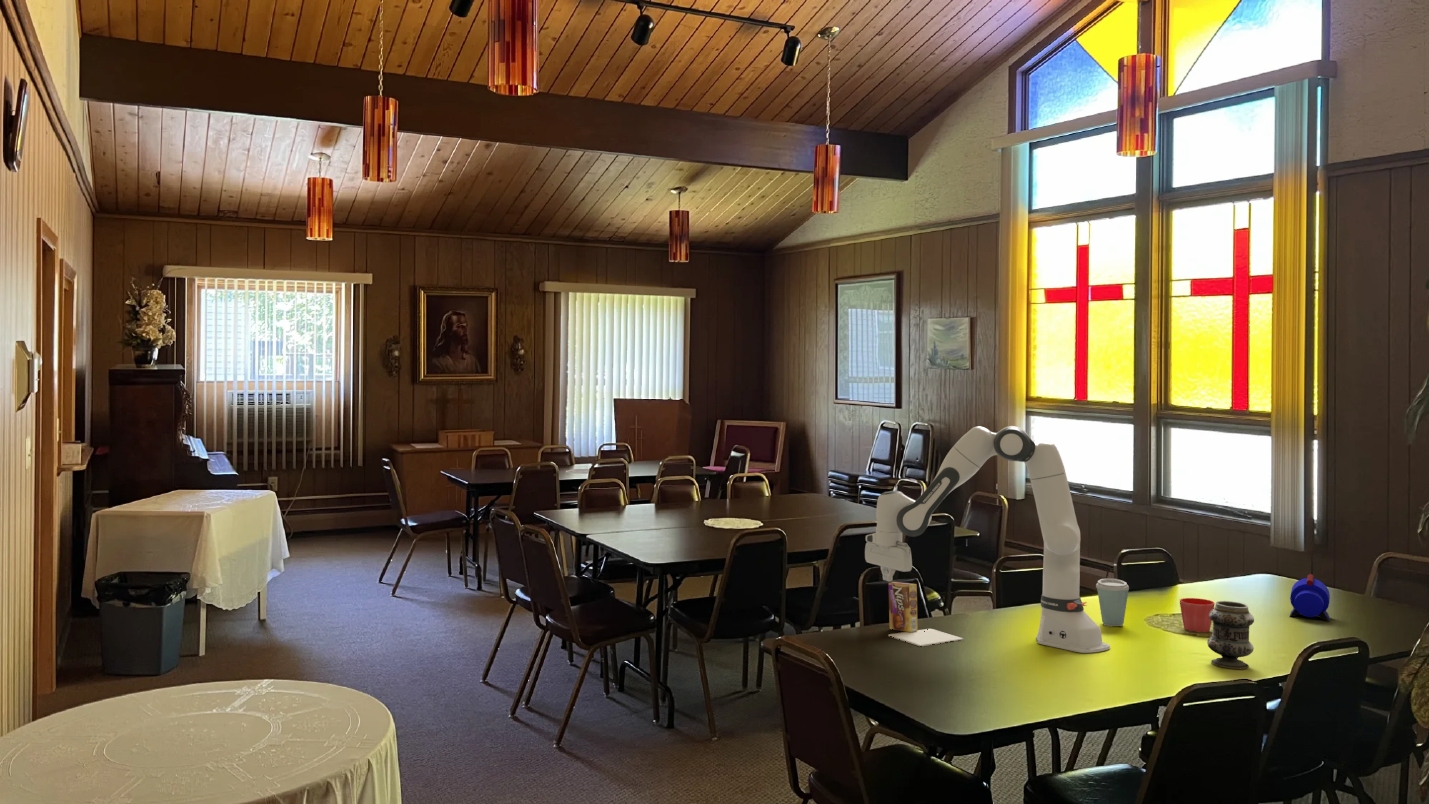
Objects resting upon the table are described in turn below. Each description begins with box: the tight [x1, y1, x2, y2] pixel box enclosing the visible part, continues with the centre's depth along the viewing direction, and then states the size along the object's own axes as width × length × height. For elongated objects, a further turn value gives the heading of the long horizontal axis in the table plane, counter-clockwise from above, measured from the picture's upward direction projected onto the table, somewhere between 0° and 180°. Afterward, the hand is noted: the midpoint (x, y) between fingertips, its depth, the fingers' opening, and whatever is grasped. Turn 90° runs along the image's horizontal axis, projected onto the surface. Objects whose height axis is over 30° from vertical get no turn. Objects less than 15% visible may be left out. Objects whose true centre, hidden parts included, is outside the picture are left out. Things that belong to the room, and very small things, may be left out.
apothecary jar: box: [1207, 600, 1255, 670], centre depth 295 cm, size 12×12×18 cm
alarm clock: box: [1289, 573, 1331, 623], centre depth 361 cm, size 12×12×15 cm
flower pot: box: [1179, 597, 1216, 633], centre depth 339 cm, size 11×11×10 cm
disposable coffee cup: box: [1095, 578, 1130, 627], centre depth 344 cm, size 11×11×15 cm
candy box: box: [888, 581, 919, 632], centre depth 331 cm, size 9×4×15 cm, turn 39°
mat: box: [887, 628, 964, 647], centre depth 322 cm, size 15×18×1 cm
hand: (887, 580), depth 337 cm, fingers closed
